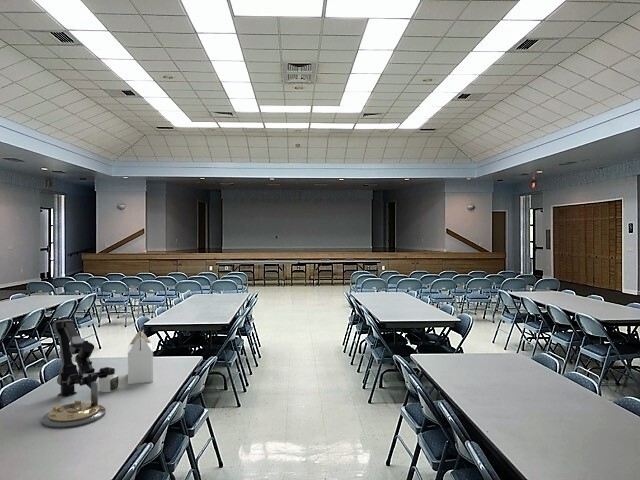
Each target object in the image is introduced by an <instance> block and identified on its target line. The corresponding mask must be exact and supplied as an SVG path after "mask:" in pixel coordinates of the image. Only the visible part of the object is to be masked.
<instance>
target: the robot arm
mask: <svg viewBox="0 0 640 480" xmlns="http://www.w3.org/2000/svg"><path fill="white" fill-rule="evenodd" d="M52 330H53V332H54V335H56V337H57V338H58V342H59V351H60V357H61V363H62V364H61V367H60V368H59V374H58V376H57V378H56V384H58V385H60V392H59V393H57V395H58V396H61V397H69V396H72V395H75V394H77V393H78V391H75V390H76V388H75V387H76V385H78V384H79V386H87V387H88V388H89V390H91V382H92V381H98V380H97V379H99V378H100V379H101V378H106V377H107V376H108V374H109V372H110V369H109V368H108V367H109V366H106V367H102V368H101V367H100V369H99V371H95V370H96V369H95V368H94V366H93V365H92V364H93V361H91V359H90V358H91V356H92V354H93V352H94V351H95V345H94V344H93V343H92V342H89V340H85V339H84V338H83V337H81V336H80V334H79V333H78V331H77V329H76V327H75V323H74V320H73V319H68V318H67V319H58V320H55V321H54V322H53V323H52ZM72 355H75V359H74V362H76V364H75V363H73V360H72V359H73V357H72ZM77 367H78V369H77Z"/></svg>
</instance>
